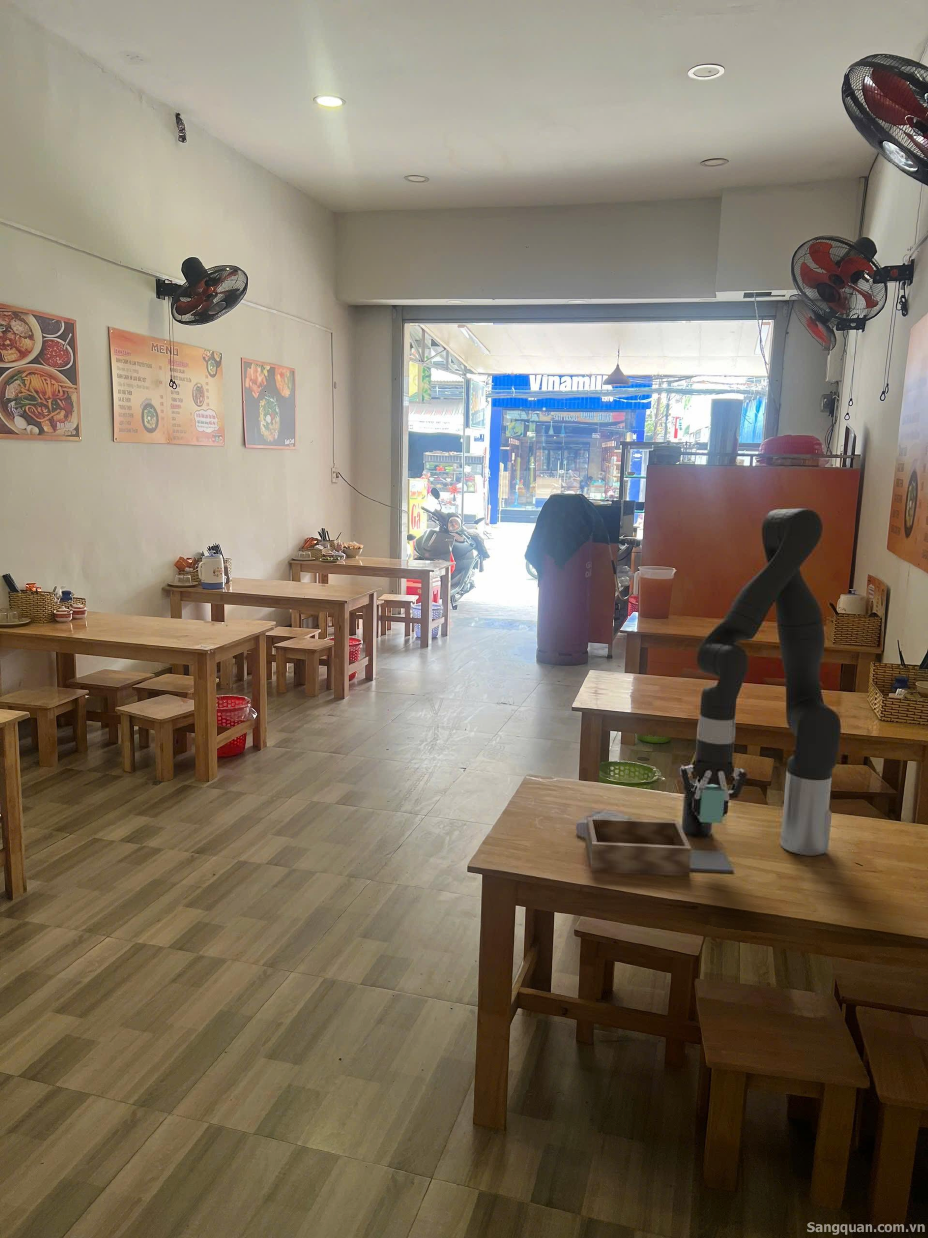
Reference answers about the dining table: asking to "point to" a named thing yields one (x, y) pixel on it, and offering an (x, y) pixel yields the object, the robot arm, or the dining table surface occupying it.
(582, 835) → the stone block
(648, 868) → the crate
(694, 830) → the supplement bottle
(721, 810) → the block
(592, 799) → the dining table surface
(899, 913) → the dining table surface
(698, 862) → the mat
